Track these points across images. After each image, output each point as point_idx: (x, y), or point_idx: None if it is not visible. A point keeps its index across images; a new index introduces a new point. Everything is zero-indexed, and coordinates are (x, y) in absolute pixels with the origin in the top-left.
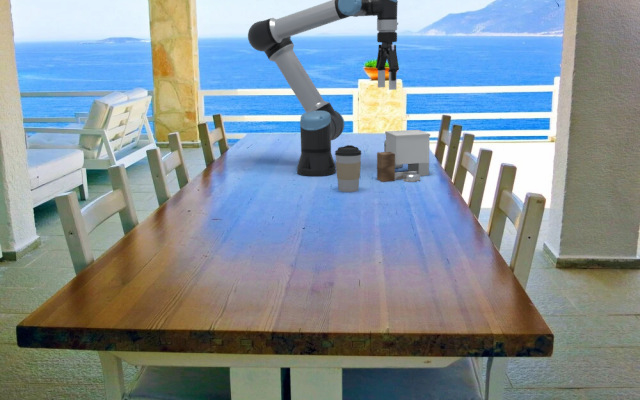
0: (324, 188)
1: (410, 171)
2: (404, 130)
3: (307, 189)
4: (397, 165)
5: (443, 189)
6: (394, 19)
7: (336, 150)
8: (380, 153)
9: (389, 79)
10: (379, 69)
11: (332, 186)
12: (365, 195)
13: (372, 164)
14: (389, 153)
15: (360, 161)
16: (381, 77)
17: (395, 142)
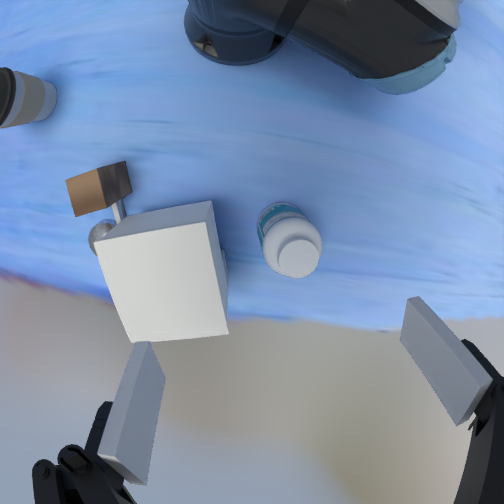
0: (62, 53)
1: None
2: (218, 292)
3: (63, 25)
4: (257, 232)
5: (45, 276)
6: None
7: (1, 68)
8: (82, 177)
9: (117, 399)
10: (491, 396)
11: (74, 65)
12: (7, 137)
13: (327, 178)
14: (80, 203)
15: (1, 127)
16: (439, 365)
17: (110, 234)
